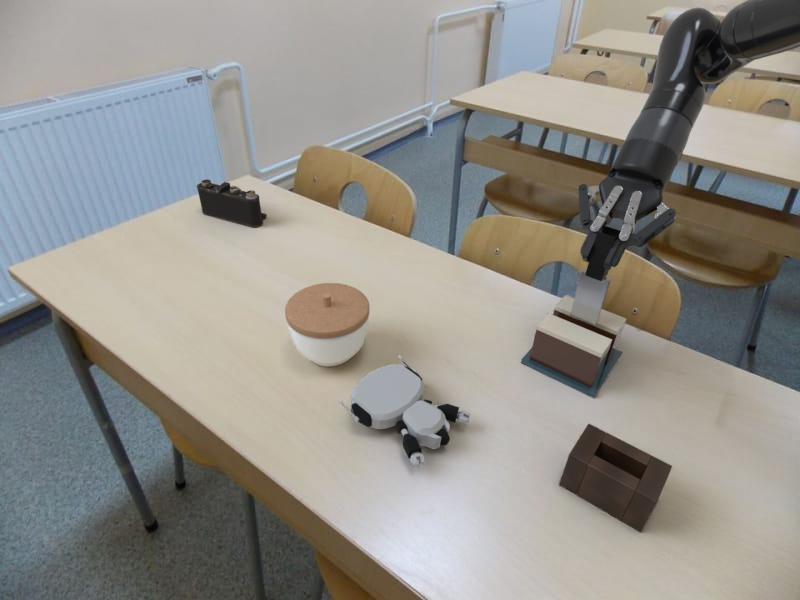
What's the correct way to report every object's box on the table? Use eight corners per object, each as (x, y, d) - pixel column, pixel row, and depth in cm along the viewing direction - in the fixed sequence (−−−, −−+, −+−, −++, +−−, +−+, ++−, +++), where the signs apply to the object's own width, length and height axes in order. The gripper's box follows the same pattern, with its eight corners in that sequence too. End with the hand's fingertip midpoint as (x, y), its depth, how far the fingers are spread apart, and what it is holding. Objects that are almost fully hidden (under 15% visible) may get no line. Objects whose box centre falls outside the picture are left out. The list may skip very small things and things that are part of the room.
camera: (273, 217, 120) (269, 185, 115) (255, 229, 115) (250, 196, 110) (217, 203, 126) (211, 171, 121) (198, 214, 121) (190, 181, 116)
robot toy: (472, 428, 72) (394, 370, 79) (478, 407, 69) (396, 349, 76) (414, 484, 64) (334, 414, 72) (418, 463, 62) (334, 393, 69)
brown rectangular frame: (656, 496, 63) (672, 465, 59) (640, 532, 59) (657, 502, 56) (577, 453, 68) (588, 422, 64) (558, 484, 64) (569, 454, 60)
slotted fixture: (621, 355, 84) (635, 318, 79) (594, 398, 76) (607, 359, 71) (552, 326, 90) (561, 290, 85) (520, 362, 82) (528, 325, 77)
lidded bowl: (300, 324, 88) (293, 270, 82) (373, 328, 88) (373, 274, 81) (282, 376, 78) (273, 319, 72) (365, 381, 78) (364, 324, 71)
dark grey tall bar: (599, 320, 78) (627, 232, 69) (593, 328, 76) (620, 239, 67) (573, 310, 80) (597, 223, 71) (567, 317, 78) (591, 229, 69)
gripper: (598, 126, 71) (543, 237, 70) (708, 149, 64) (648, 273, 64) (603, 153, 78) (552, 255, 77) (702, 177, 71) (648, 290, 70)
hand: (596, 263), depth 70 cm, fingers closed on dark grey tall bar, 2 cm apart
